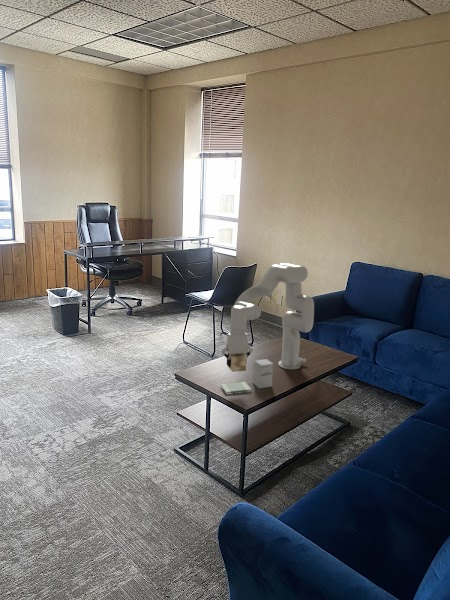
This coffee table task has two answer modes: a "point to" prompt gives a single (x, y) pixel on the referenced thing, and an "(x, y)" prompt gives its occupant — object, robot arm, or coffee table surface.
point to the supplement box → (263, 373)
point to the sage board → (236, 387)
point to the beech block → (238, 362)
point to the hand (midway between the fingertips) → (236, 365)
